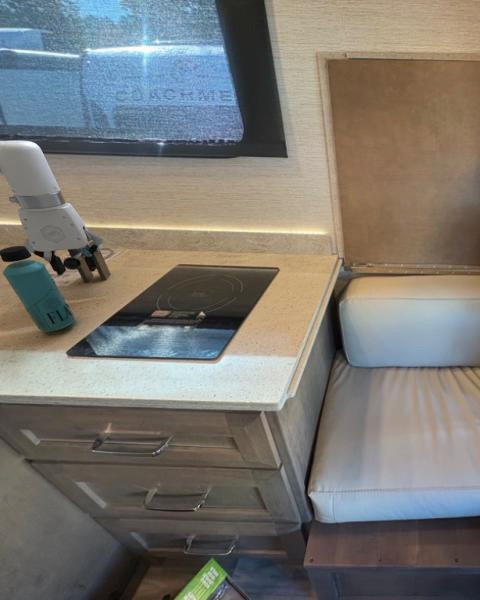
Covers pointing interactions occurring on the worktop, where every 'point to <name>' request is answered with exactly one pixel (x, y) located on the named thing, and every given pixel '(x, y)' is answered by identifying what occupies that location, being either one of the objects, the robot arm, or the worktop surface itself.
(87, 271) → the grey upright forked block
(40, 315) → the beverage bottle
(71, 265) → the tap lever
